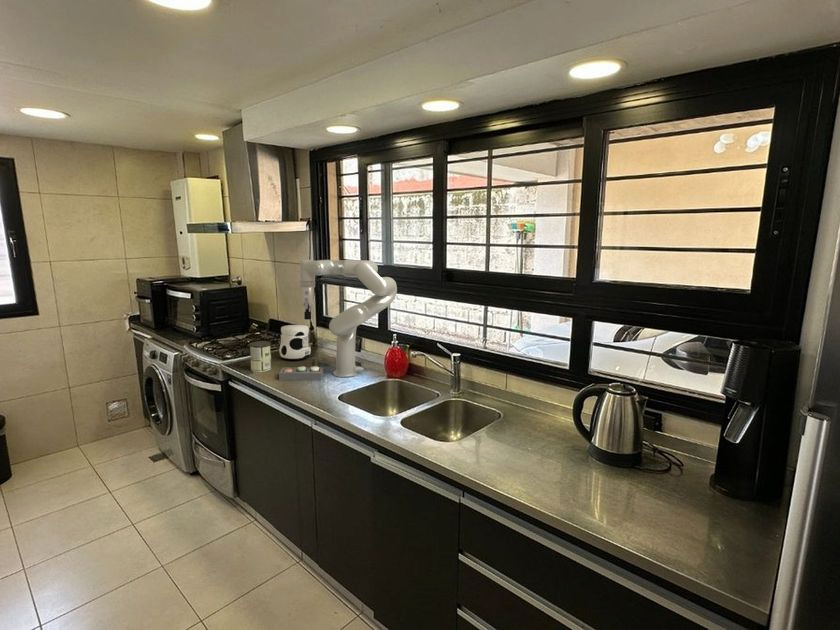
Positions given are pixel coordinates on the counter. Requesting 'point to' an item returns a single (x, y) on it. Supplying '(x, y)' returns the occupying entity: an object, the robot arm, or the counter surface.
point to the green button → (301, 369)
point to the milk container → (294, 342)
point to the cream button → (315, 369)
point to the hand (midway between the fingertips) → (307, 319)
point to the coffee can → (260, 356)
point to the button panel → (300, 374)
